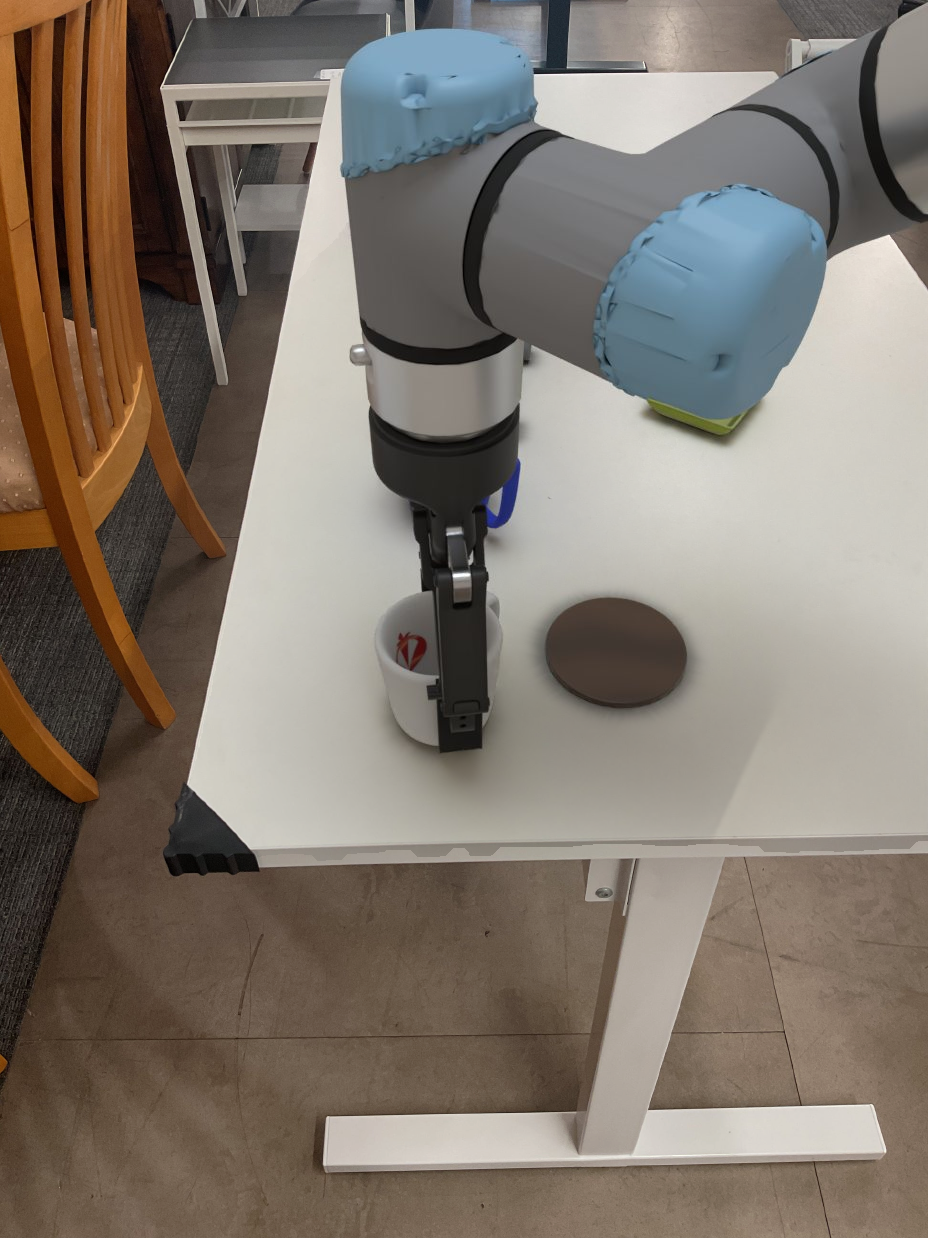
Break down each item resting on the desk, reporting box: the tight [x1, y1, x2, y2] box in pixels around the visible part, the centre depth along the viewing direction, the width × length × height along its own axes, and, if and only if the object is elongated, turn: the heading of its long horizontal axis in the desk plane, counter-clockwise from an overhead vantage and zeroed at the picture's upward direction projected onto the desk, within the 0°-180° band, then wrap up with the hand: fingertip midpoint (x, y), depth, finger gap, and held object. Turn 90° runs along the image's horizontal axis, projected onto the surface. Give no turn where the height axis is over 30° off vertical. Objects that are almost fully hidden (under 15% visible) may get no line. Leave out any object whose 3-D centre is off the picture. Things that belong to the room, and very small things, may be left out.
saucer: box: [645, 398, 750, 436], centre depth 86 cm, size 9×9×2 cm
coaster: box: [545, 596, 688, 708], centre depth 67 cm, size 10×10×1 cm
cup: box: [373, 590, 504, 747], centre depth 61 cm, size 11×8×8 cm
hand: (451, 688), depth 63 cm, fingers open, 9 cm apart
